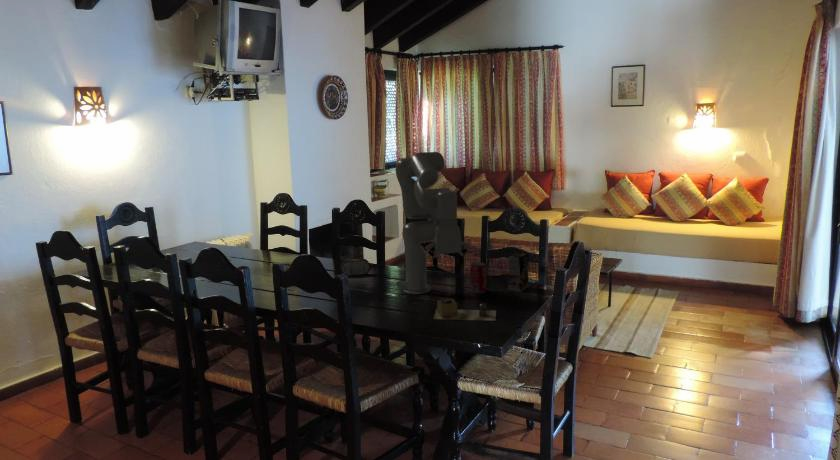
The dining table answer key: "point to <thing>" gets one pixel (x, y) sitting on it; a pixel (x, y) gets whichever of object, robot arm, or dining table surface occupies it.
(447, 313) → the collar
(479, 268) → the soda can
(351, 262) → the tin
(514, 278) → the coffee box
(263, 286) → the dining table surface
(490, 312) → the board
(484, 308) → the hub
